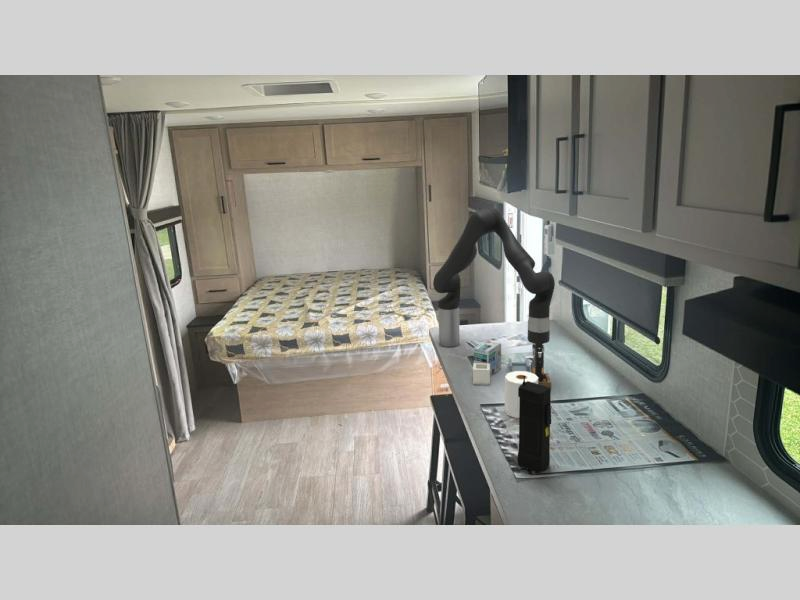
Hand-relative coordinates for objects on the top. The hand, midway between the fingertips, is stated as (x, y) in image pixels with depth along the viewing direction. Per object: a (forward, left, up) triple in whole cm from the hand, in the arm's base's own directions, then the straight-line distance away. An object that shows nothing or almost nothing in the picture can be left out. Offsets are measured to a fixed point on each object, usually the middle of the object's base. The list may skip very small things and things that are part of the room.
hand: (537, 372), depth 186 cm
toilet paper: (+22, -7, -5) cm, 24 cm away
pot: (-1, -20, -4) cm, 21 cm away
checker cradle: (-11, -5, -4) cm, 13 cm away
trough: (0, 0, -4) cm, 4 cm away
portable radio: (+53, -5, -5) cm, 53 cm away
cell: (0, 0, -4) cm, 4 cm away
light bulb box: (-11, -18, -5) cm, 21 cm away
